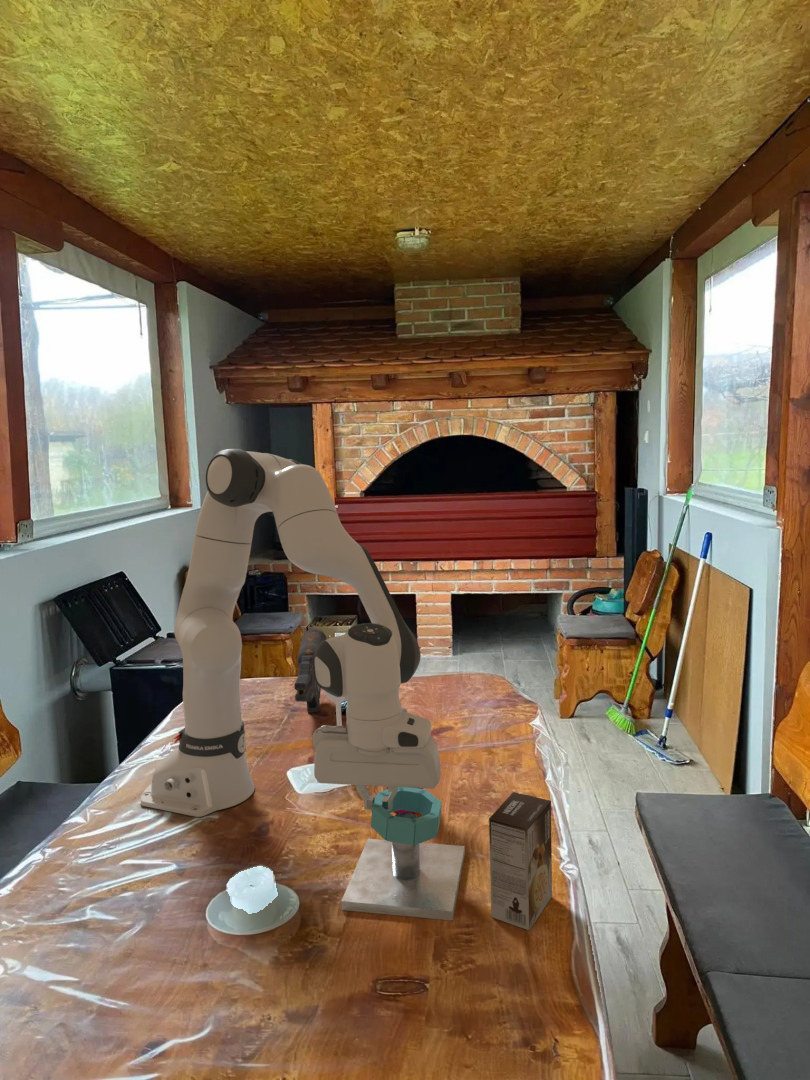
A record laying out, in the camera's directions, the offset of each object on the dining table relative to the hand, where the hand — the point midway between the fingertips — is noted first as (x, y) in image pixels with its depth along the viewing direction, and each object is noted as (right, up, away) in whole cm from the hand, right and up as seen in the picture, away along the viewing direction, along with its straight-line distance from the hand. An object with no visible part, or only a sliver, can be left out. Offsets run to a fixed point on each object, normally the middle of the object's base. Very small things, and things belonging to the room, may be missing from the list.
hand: (379, 808), depth 114 cm
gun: (-20, -3, +71) cm, 74 cm away
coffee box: (+22, -13, -7) cm, 26 cm away
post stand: (+4, -12, 0) cm, 13 cm away
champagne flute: (-11, -5, +54) cm, 55 cm away
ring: (+4, -2, 0) cm, 5 cm away
